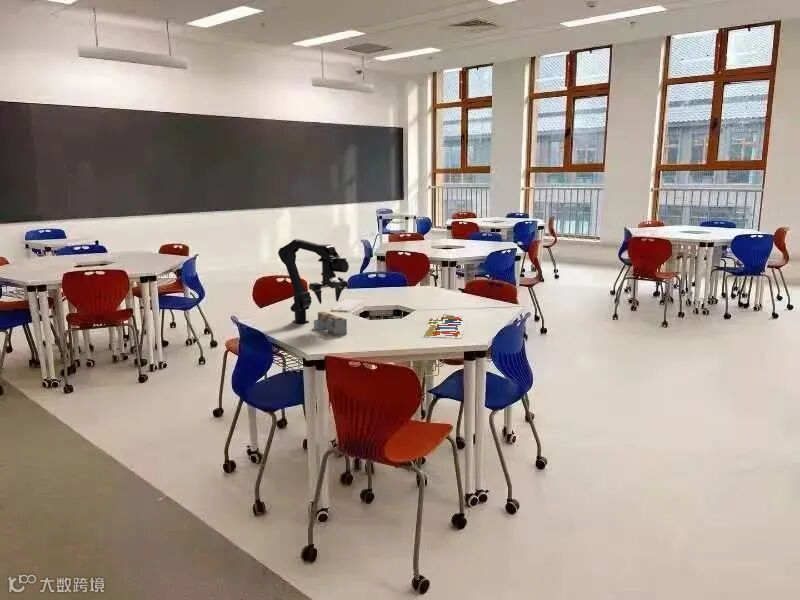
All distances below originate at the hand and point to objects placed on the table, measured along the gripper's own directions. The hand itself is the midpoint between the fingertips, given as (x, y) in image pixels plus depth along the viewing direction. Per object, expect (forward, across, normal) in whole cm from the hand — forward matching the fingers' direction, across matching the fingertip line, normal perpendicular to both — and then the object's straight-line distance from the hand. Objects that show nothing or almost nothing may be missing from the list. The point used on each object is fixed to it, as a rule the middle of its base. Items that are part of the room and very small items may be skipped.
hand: (328, 302), depth 293 cm
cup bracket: (+12, -4, -15) cm, 20 cm away
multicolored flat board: (+13, +47, -33) cm, 59 cm away
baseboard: (+13, +32, +36) cm, 50 cm away
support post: (+12, -4, -1) cm, 13 cm away
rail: (+8, -4, -8) cm, 12 cm away
